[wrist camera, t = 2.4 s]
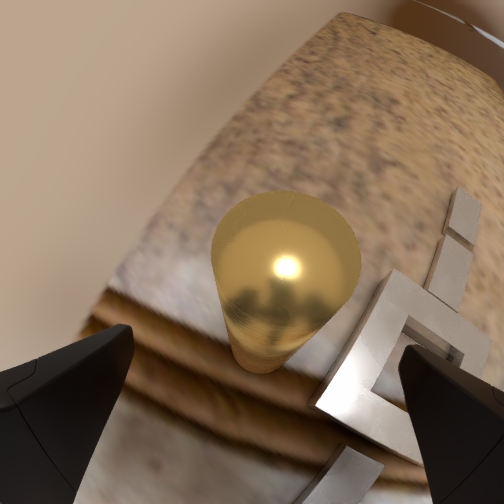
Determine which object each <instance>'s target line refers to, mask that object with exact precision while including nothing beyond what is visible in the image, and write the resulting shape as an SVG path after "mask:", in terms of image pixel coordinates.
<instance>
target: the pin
mask: <svg viewBox="0 0 504 504" xmlns="http://www.w3.org/2000/svg"><path fill="white" fill-rule="evenodd" d="M211 261H212V267H213V272H214V276H215V281H216V285H217V290H218V294H219V298H220V303H221V307H222V311H223V315H224V320H225V324H226V328H227V332H228V336H229V340H230V344H231V348H232V352H233V355H234V358H235V360H236V361H237V363H238V364H239V365H240V366H241V367H242V368H244V369H245V370H247V371H249V372H252V373H255V374H266V373H270V372H273V371H275V370H277V369H278V368H279V367H281V366H282V365H283V364H284V363H285V362H286V361H287V360H288V359H289V358H290V357H291V356H293V355H294V354H295V353H296V352H297V351H298V350H299V349H300V348H301V347H302V346H303V345H304V344H305V343H306V342H307V341H308V340H309V339H310V338H312V337H313V336H314V335H315V334H316V333H317V332H318V331H319V330H320V329H321V328H322V327H323V326H324V325H325V324H326V323H327V322H328V321H329V320H330V319H331V318H332V317H333V316H334V315H335V314H336V313H337V311H338V310H339V309H340V308H341V307H342V306H343V305H344V304H345V303H346V302H347V301H348V300H349V298H350V297H351V295H352V294H353V292H354V290H355V288H356V286H357V283H358V280H359V277H360V271H361V254H360V248H359V245H358V241H357V239H356V236H355V234H354V232H353V231H352V229H351V227H350V226H349V224H348V223H347V222H346V220H345V219H344V218H343V217H342V216H341V215H340V214H339V213H338V212H337V211H336V210H335V209H333V208H332V207H331V206H329V205H328V204H326V203H325V202H323V201H321V200H319V199H317V198H315V197H312V196H310V195H306V194H303V193H299V192H293V191H270V192H264V193H261V194H257V195H254V196H252V197H249V198H247V199H245V200H243V201H242V202H240V203H239V204H237V205H236V206H234V207H233V208H232V209H231V210H230V211H229V212H228V213H227V214H226V215H225V216H224V218H223V219H222V220H221V222H220V224H219V225H218V227H217V229H216V232H215V234H214V237H213V241H212V248H211Z"/></svg>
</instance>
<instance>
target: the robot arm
mask: <svg viewBox="0 0 504 504" xmlns="http://www.w3.org/2000/svg"><path fill="white" fill-rule="evenodd" d="M134 352H135V344H134V338H133V331H132V327H131V326H130V325H125V324H117V325H115V326H112V327H110V328H108V329H105V330H103V331H101V332H98V333H96V334H94V335H91V336H89V337H87V338H84V339H82V340H79V341H77V342H75V343H72V344H70V345H68V346H65V347H63V348H60V349H58V350H56V351H53V352H51V353H48V354H46V355H44V356H41V357H39V358H38V359H34V360H31V361H29V362H27V363H24V364H22V365H19V366H16V367H13V368H11V369H7V370H4V371H2V372H0V504H73V502H74V499H75V497H76V494H77V493H76V492H77V491H78V489H79V486H80V484H81V481H82V479H83V476H84V474H85V471H86V469H87V467H88V464H89V462H90V459H91V457H92V455H93V452H94V450H95V448H96V445H97V443H98V441H99V438H100V436H101V434H102V432H103V429H104V427H105V425H106V423H107V421H108V418H109V416H110V414H111V412H112V410H113V407H114V405H115V403H116V401H117V399H118V397H119V395H120V392H121V390H122V387H123V385H124V382H125V379H126V376H127V373H128V370H129V367H130V364H131V361H132V358H133V355H134ZM398 371H399V376H400V380H401V385H402V389H403V394H404V398H405V403H406V407H407V410H408V413H409V417H410V420H411V423H412V426H413V429H414V433H415V436H416V439H417V443H418V446H419V450H420V453H421V457H422V461H423V464H424V468H425V472H426V476H427V480H428V484H429V488H430V493H431V497H432V502H433V504H504V392H503V391H501V390H499V389H497V388H495V387H494V386H491V385H490V384H488V383H486V382H485V381H483V380H481V379H479V378H477V377H476V376H474V375H472V374H470V373H468V372H467V371H465V370H463V369H461V368H459V367H458V366H456V365H454V364H452V363H450V362H449V361H447V360H445V359H443V358H441V357H440V356H438V355H436V354H434V353H432V352H431V351H429V350H427V349H425V348H423V347H422V346H420V345H417V344H414V345H407V346H406V347H405V349H404V352H403V355H402V357H401V360H400V362H399V366H398Z"/></svg>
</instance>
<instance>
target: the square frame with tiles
mask: <svg viewBox="0 0 504 504" xmlns="http://www.w3.org/2000/svg"><path fill="white" fill-rule="evenodd" d="M480 211H481V203H479V202H478V201H477V200H475V199H474V198H473V197H472V196H470V195H469V194H468V193H466V192H465V191H464V190H462V189H461V188H460V187H457V188H456V190H455V191H454V192H453V194H452V198H451V202H450V206H449V210H448V213H447V217H446V221H445V224H444V228H443V231H442V234H444V235H445V236H444V237H443V238H442V239H441V240H440V241H439V244H438V247H437V250H436V253H435V256H434V259H433V262H432V265H431V268H430V271H429V274H428V276H427V279H426V282H425V284H424V287H423V288H422V287H420V286H419V285H417V284H416V283H414V282H413V281H412V280H410V279H409V278H407V277H406V276H404V275H403V274H401V273H400V272H398V271H397V270H396V269H393V270H392V271H391V272H390V273H389V274H388V275H387V276H386V277H385V278H384V279H383V280H382V281H381V282H380V283H379V285H378V287H377V289H376V291H375V293H374V295H373V297H372V299H371V301H370V303H369V304H368V306H367V308H366V310H365V312H364V314H363V315H362V317H361V319H360V321H359V323H358V324H357V326H356V328H355V330H354V331H353V333H352V335H351V336H350V338H349V340H348V342H347V343H346V345H345V347H344V348H343V350H342V351H341V353H340V355H339V356H338V358H337V360H336V361H335V363H334V364H333V366H332V367H331V369H330V371H329V372H328V374H327V375H326V377H325V378H324V380H323V381H322V383H321V384H320V386H319V387H318V389H317V390H316V392H315V393H314V395H313V396H312V398H311V399H310V400H309V402H308V403H307V406H309V407H311V408H312V409H314V410H316V411H317V412H319V413H320V414H322V415H324V416H325V417H327V418H329V419H330V420H332V421H334V422H336V423H337V424H339V425H341V426H342V427H344V428H346V429H348V430H349V431H351V432H353V433H355V434H356V435H358V436H360V437H362V438H364V439H366V440H367V441H369V442H371V443H373V444H375V445H377V446H379V447H381V448H383V449H384V450H386V451H388V452H390V453H392V454H394V455H396V456H398V457H400V458H402V459H404V460H406V461H409V462H411V463H413V464H415V465H417V466H419V467H423V468H424V464H423V461H422V457H421V453H420V450H419V446H418V443H417V439H416V436H415V433H414V429H413V426H412V423H411V420H410V417H409V414H408V413H406V412H404V411H403V410H401V409H399V408H398V407H396V406H394V405H393V404H391V403H389V402H388V401H386V400H384V399H383V398H381V397H379V396H378V395H376V394H374V393H373V392H371V391H370V390H371V388H372V386H373V385H374V383H375V381H376V379H377V378H378V376H379V374H380V372H381V370H382V368H383V367H384V365H385V363H386V361H387V359H388V357H389V355H390V353H391V351H392V349H393V347H394V345H395V343H396V341H397V339H398V337H399V335H400V333H401V331H402V332H404V333H405V334H407V335H408V336H410V337H411V338H413V339H414V340H416V341H417V342H419V343H420V344H421V345H423V346H424V347H426V348H427V349H429V350H430V351H432V352H433V353H435V354H436V355H438V356H440V357H441V358H443V359H445V360H447V361H449V362H450V363H452V364H454V365H456V366H458V367H459V368H461V369H463V370H465V371H467V372H468V373H470V374H472V375H474V376H476V377H477V378H479V379H481V376H482V373H483V370H484V367H485V364H486V360H487V357H488V354H489V350H490V347H491V343H492V340H491V339H490V338H488V337H487V336H486V335H485V334H483V333H482V332H481V331H480V330H478V329H477V328H476V327H474V326H473V325H472V324H471V323H469V322H468V321H467V320H465V319H464V318H463V317H461V316H460V315H459V314H457V313H458V311H459V307H460V304H461V301H462V297H463V294H464V290H465V286H466V283H467V279H468V275H469V270H470V266H471V262H472V257H473V254H472V253H471V252H470V250H471V249H472V248H473V247H474V246H475V242H476V237H477V231H478V225H479V218H480ZM384 467H385V465H383V464H381V463H379V462H377V461H375V460H373V459H371V458H369V457H367V456H365V455H363V454H361V453H359V452H357V451H355V450H353V449H352V448H350V447H348V446H346V445H343V444H340V445H339V447H338V448H337V449H336V451H335V452H334V454H333V455H332V456H331V458H330V459H329V460H328V462H327V463H326V464H325V466H324V467H323V468H322V470H321V471H320V472H319V473H318V475H317V476H316V477H315V478H314V480H313V481H312V482H311V483H310V485H309V486H308V487H307V488H306V489H305V491H304V492H303V493H302V494H301V495H300V496H299V498H298V499H297V500H296V501H295V502H294V503H293V504H358V503H359V502H360V500H361V499H362V498H363V497H364V495H365V494H366V493H367V491H368V490H369V489H370V487H371V486H372V484H373V483H374V482H375V480H376V479H377V477H378V476H379V475H380V473H381V472H382V470H383V469H384Z"/></svg>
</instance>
